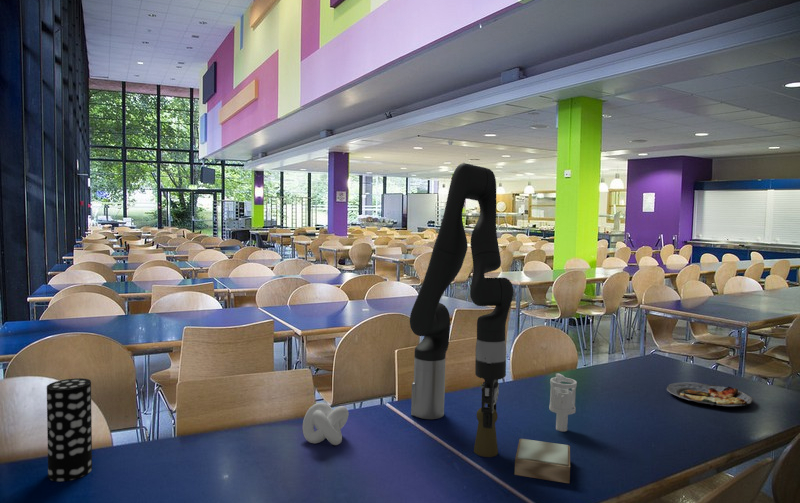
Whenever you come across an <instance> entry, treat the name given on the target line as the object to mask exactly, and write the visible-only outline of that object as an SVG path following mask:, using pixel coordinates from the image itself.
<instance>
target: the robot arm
mask: <svg viewBox="0 0 800 503" xmlns="http://www.w3.org/2000/svg"><path fill="white" fill-rule="evenodd" d="M447 193H448V194H447V198H446V202H445V203H446V204H445V207H444V212H443V216H442V219H441V223H440V227H439V229H438V233H437V236H436V239H435V242H434V245H433V247H432V251H431V255H430V260H429V263H428V266H427V268H426V271H425V272H426V273H425V275H424V278H423V281H422V284H421V287H420V290H419V292H418V294H417V297H416V299H415V302H414V304H413V305H412V309H411V311H410V315H409V316H410V317H409V325H410V328H411V329H410V330H411V331H412V333H413V334H414V335H416V336H418V337H423V339H422V340H421V342H419V343H418V344H417V345H416V346H415V348H414V356H413V357H414V362H413V366H414V367H413V369H414V370H413V382H412V383H411V397H410V398H411V402H410V403H411V408H410V414H411V416H414V417H416V418H418V419H419V418H420V419H424V420H437V419H438V420H439V419H441V418H443V417H444V415H445V395H446V393H445V390H446V354H447V351H448V349H449V344H450V335H451V334H450V332H451V316H450V312H449V310H448V308H447V307H446V305H445V304H443V303H440V301H441V298H442V297H443V294H444V293H445V291H446V290H447V289H448V288H449V286H450V285H451V284H452V282H453V281H454V280H455V278H456V277H457V276H458V275H459V272H460V271H461V269H462V266H463V264H464V260H465V258H466V256H467V255H466V254H467V251H468V247H469V246H468V238H467V234H466V230H465V227H464V223H463V222H464V221H463V211H464V205H465V202H466V199H467V200H472V201H475V202H476V201H477V202H478V207H479V217H478V219H477V221H476V224H475V225H474V228H473V230H472V232H471V236H470V251H471V256H472V258H471V259H472V275H471V282H470V283H471V284H470V287H469V288H470V289H469V297H470V299H471V301H472V302H473V304H474V305H475V306H477V307H494V309H493V310H492V311H491V312H490V313H486V314H484V315H480V316H478V318H477V321H476V341H475V342H476V343H475V360H474V361H475V371H474V372H475V373H474V374H475V376H476V377H478V378H480V379H482V380H484V381H483V382H482V384H481V389H480V390H481V408H482V409H481V411H482V412H483V427H484V428H492V426H493V411H494V410H496V411H497V402H498V397H499V389H500V383H499V380H502V379H504V378H505V377H506V376H507V346H506V323H507V321H508V320H507V319H508V314H509V312H510V308H511V305H512V302H513V299H514V293H515V292H514V286H513V283H512V281H511V280H510V279H509V278H507V277H485V274H488V273H491V272H494V271H496V270H498V269H500V267H501V266H502V260H501V254H500V253H501V252H500V246H499V241H498V234H497V233H498V232H497V180H496V176H495V173H494V172H493V170H492V169H490V168H487V167H483V166H479V165H475V164H471V163H465V162H464V163H460V164H458V166H456V168H455V169H454V171H453V174H452V176H451V180H450V184H449V188H448V192H447ZM486 405H487V406H486ZM486 407H489V408H486ZM493 409H494V410H493Z"/></svg>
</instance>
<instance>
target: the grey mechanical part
mask: <svg viewBox="0 0 800 503" xmlns="http://www.w3.org/2000/svg"><path fill="white" fill-rule="evenodd" d="M549 380H550V382H549V384H550V394H549V398H550V399H549V403H548V404H549V408H548V409H549V411H550V412H552V413H554V414H556V417H555V430H556V431H558V432H567V431H568V421H569V419H568V417H569V415H573V414H576V393H577V392H576V389H577V384H578V383H577V382H578V381H577V380H575V379H573V378H569V377H565V376H564V375H563V374H561V373H558V372H557V373H555V376H554V377H551V378H550V379H549ZM562 382H565V383H562ZM570 389H571V390H570Z"/></svg>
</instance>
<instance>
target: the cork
mask: <svg viewBox="0 0 800 503" xmlns="http://www.w3.org/2000/svg"><path fill="white" fill-rule="evenodd" d="M485 407H486V408H489V407H487V406H485ZM481 409H482V407H480V408H478V410H477V411H476V419H477V421H478V422H477V429H476V435H475V441H474V446H473V453H474V454H476V455H478V456H479V457H484V458H492V457H496V456H497V455H498V454H499V451H498V449H499V448H498V441H497V440H498V439H497V428H496V422H497V421H498V417H499V416H498V412H497V409H496V410H494V409H493V410H494V411H493V426H492V428H484V427H483V412H482V411H481Z"/></svg>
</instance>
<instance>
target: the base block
mask: <svg viewBox="0 0 800 503" xmlns="http://www.w3.org/2000/svg"><path fill="white" fill-rule="evenodd" d="M514 458H515V459H514V475H515V476H520V477H527V478H533V479H539V480H545V481H552V482H558V483H565V484H570V480H571V479H570V478H571V446H570V445H568V444H562V443H557V442H555V443H554V442H548V441H541V440H533V439H527V438H519V440H518V444H517V449H516V452H515V457H514Z"/></svg>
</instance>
